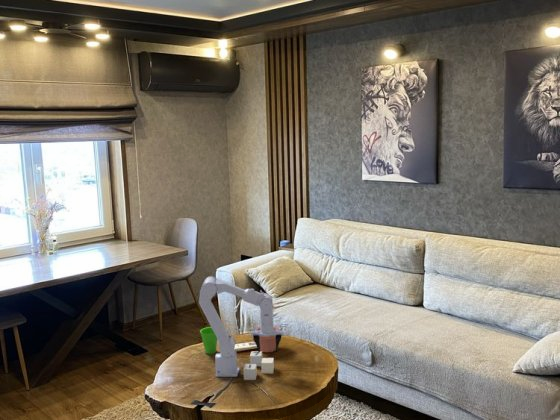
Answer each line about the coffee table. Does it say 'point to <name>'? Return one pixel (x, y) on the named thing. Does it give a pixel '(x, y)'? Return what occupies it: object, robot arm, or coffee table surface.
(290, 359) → the coffee table surface
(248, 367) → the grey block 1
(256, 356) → the white marked cube 7
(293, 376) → the coffee table surface
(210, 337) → the cup
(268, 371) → the cream block
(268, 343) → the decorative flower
